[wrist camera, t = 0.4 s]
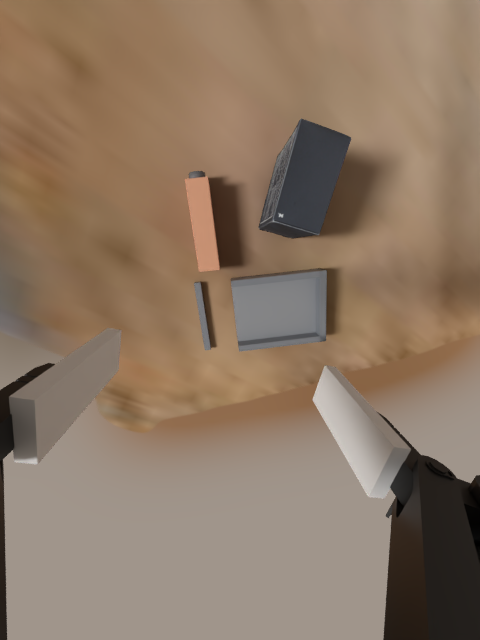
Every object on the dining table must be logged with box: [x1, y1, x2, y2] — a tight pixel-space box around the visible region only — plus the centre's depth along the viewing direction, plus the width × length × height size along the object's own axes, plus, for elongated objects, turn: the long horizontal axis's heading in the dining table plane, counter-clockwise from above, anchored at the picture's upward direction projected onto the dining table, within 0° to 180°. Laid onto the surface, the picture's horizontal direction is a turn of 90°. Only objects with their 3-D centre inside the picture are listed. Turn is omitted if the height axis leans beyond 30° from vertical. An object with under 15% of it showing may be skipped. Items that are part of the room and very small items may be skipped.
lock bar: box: [185, 171, 220, 272], centre depth 34 cm, size 13×3×4 cm, turn 6°
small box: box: [259, 119, 351, 238], centre depth 31 cm, size 11×6×10 cm, turn 166°
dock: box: [194, 268, 327, 351], centre depth 39 cm, size 12×21×3 cm, turn 96°
